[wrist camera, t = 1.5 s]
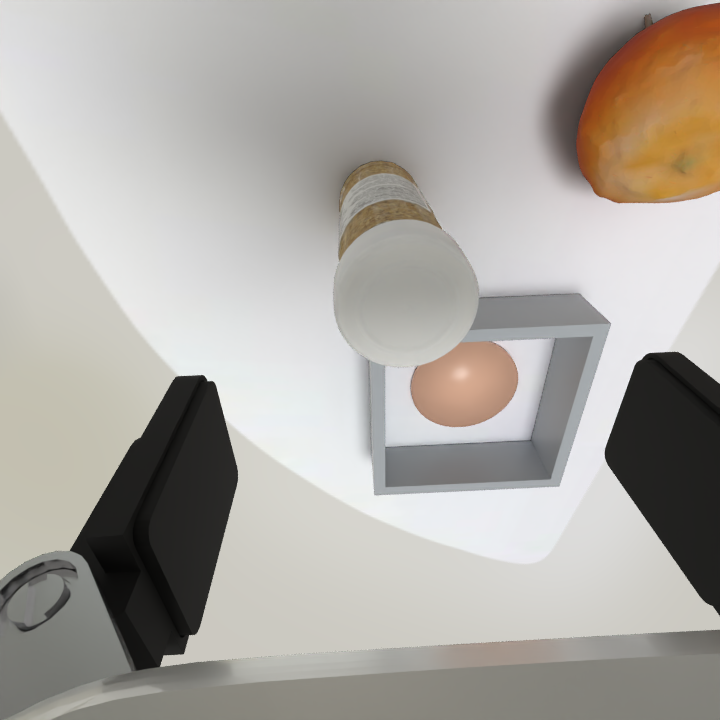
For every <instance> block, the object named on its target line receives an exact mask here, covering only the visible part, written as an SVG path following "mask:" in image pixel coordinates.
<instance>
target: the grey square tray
mask: <svg viewBox="0 0 720 720" xmlns="http://www.w3.org/2000/svg"><path fill="white" fill-rule="evenodd" d="M610 326H611V323H610V322H609V321H608V320H607V319H606V318H605V317H604V316H603V315H602V314H601V313H599V312H598V311H597V310H596V309H595V308H594V307H593V306H592V305H591V304H590V303H589V302H588V301H587V300H586V299H585V298H584V297H582V296H581V295H580V294H559V295H537V296H514V297H492V298H479V304H478V310H477V314H476V316H475V319H474V322H473V324H472V326H471V328H470V330H469V331H468V333H467V335H466V336H465V337H464V338H463V340H462V341H461V342H460V343H459V344H458V345H457V346H456V347H455V348H453V349H452V350H451V351H450V352H448V353H447V354H445V355H444V356H442V357H440V358H438V359H436V360H434V361H432V362H429V363H426V364H423V365H419V366H418V367H417V368H416V370H415V372H414V375H413V378H412V382H411V393H412V398H413V401H414V404H415V406H416V408H417V409H418V411H419V412H420V413H421V414H422V415H423V416H424V417H425V418H427V419H428V420H430V421H432V422H434V423H437V424H440V425H443V426H449V427H465V426H471V425H475V424H478V423H481V422H484V421H486V420H488V419H490V418H492V417H493V416H495V415H496V414H498V413H499V412H500V411H501V410H503V409H504V408H505V407H506V406H507V404H508V403H509V402H510V400H511V399H512V397H513V396H514V393H515V391H516V388H517V384H518V372H517V368H516V365H515V363H514V361H513V360H512V358H511V356H510V355H509V354H508V353H507V352H506V351H505V350H504V349H503V348H502V347H500V346H498V345H497V344H495V343H492V342H490V341H504V340H526V339H548V338H556V341H555V345H554V349H553V353H552V357H551V361H550V365H549V369H548V373H547V377H546V381H545V385H544V389H543V394H542V398H541V402H540V406H539V410H538V414H537V418H536V422H535V426H534V430H533V434H532V438H531V441H514V442H493V443H472V444H451V445H429V446H408V447H387V448H385V365H381V364H378V363H375V362H372V361H370V360H369V384H370V419H371V454H372V469H373V483H374V495H391V494H412V493H433V492H454V491H475V490H495V489H516V488H537V487H558V486H560V482H561V479H562V476H563V473H564V470H565V467H566V464H567V461H568V457H569V454H570V451H571V448H572V445H573V442H574V439H575V435H576V432H577V429H578V426H579V423H580V420H581V417H582V413H583V410H584V407H585V404H586V401H587V398H588V395H589V391H590V388H591V385H592V382H593V379H594V376H595V373H596V370H597V366H598V363H599V360H600V357H601V354H602V351H603V348H604V344H605V341H606V338H607V335H608V332H609V329H610Z"/></svg>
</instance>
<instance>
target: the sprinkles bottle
mask: <svg viewBox="0 0 720 720" xmlns="http://www.w3.org/2000/svg"><path fill="white" fill-rule="evenodd" d="M339 211H340V220H339V247H338V258H339V264H338V266H337V269H336V273H335V278H334V292H333V299H334V313H335V318H336V322H337V325H338V327H339V330H340V332H341V334H342V336H343V337H344V339H345V340H346V341H347V343H348V344H349V345H350V346H351V347H352V348H353V349H354V350H355V351H356V352H357V353H359V354H360V355H361V356H363V357H365V358H366V359H368V360H370V361H372V362H375V363H378V364H381V365H385V366H390V367H413V366H419V365H423V364H426V363H429V362H432V361H434V360H436V359H438V358H440V357H442V356H444V355H445V354H447V353H448V352H450V351H451V350H452V349H453V348H455V347H456V346H457V345H458V344H459V343H460V342H461V341H462V340H463V338H464V337H465V336H466V335H467V333H468V331H469V330H470V328H471V326H472V324H473V322H474V319H475V316H476V314H477V310H478V304H479V289H478V282H477V278H476V276H475V273H474V271H473V268H472V266H471V265H470V263H469V261H468V259H467V258H466V256H465V255H464V253H463V251H462V250H461V248H460V247H459V245H458V244H457V243H456V242H455V240H454V239H453V238H452V237H451V236H450V235H448V234H447V233H446V232H445V231H443V230H442V228H441V226H440V225H439V224H438V222H437V220H436V218H435V216H434V213H433V211H432V209H431V208H430V206H429V205H428V203H427V201H426V200H425V198H424V197H423V195H422V194H421V192H420V191H419V189H418V188H417V185H416V183H415V182H414V180H413V178H412V177H411V176H410V175H409V174H408V172H407V171H405V170H404V169H403V168H401V167H399V166H398V165H396V164H394V163H392V162H384V161H376V162H370V163H367V164H364V165H362V166H360V167H359V168H358V169H356V170H355V171H354V172H353V173H352V174H351V175H350V176H349V177H348V178H347V180H346V181H345V183H344V185H343V187H342V190H341V193H340V200H339Z"/></svg>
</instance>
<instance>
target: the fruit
mask: <svg viewBox="0 0 720 720" xmlns="http://www.w3.org/2000/svg"><path fill="white" fill-rule="evenodd" d="M644 19H645V29H644V30H642V31H640V32H639V33H637V34H636V35H635V36H634V37H633V38H631V39H630V40H629V41H628V42H627V43H626V44H625V45H624V46H623V47H622V48H621V49H620V50H619V51H618V52H617V53H616V54H615V55H614V56H613V57H612V58H611V59H610V60H609V61H608V62H607V63H606V65H605V66H604V68H603V69H602V70H601V72H600V73H599V74H598V76H597V78H596V79H595V81H594V83H593V86H592V88H591V90H590V93H589V95H588V98H587V101H586V103H585V106H584V109H583V112H582V115H581V117H580V121H579V126H578V132H577V141H576V149H577V156H578V162H579V167H580V169H581V172H582V174H583V176H584V177H585V178H586V180H587V181H588V182H589V183H590V185H591V186H592V188H593V191H594V193H595V194H596V195H598V196H599V197H604V198H607V199H609V200H611V201H613V202H616V203H670V202H679V201H685V200H691V199H697V198H700V197H703V196H707V195H709V194H712V193H714V192H717V191H720V3H715V4H709V5H703V6H697V7H693V8H689V9H685V10H682V11H680V12H677V13H674V14H671V15H669V16H667V17H665V18H663V19H661V20H659V21H658V22H656V23H654V24H653V22H652V18H651V14H649V15H645V17H644Z"/></svg>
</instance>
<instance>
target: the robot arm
mask: <svg viewBox="0 0 720 720" xmlns="http://www.w3.org/2000/svg"><path fill="white" fill-rule="evenodd" d="M605 459H606V462H607V464H608V466H609V467H610V469H611V470H612V471H613V473H614V474H615V476H616V477H617V479H618V480H619V481H620V483H621V484H622V486H623V487H624V489H625V490H626V491H627V493H628V494H629V496H630V497H631V499H632V500H633V501H634V503H635V504H636V506H637V507H638V509H639V510H640V511H641V513H642V514H643V516H644V517H645V519H646V520H647V521H648V523H649V524H650V526H651V527H652V528H653V530H654V531H655V533H656V534H657V536H658V537H659V539H660V540H661V541H662V543H663V544H664V546H665V547H666V548H667V550H668V551H669V553H670V554H671V556H672V557H673V559H674V560H675V561H676V563H677V564H678V565H679V567H680V569H681V570H682V571H683V573H684V574H685V576H686V577H687V579H688V580H689V581H690V583H691V584H692V586H693V587H694V589H695V590H696V591H697V593H698V594H699V596H700V597H701V598H702V599H703V600H704V601H705V602H706V603H707V604H709V605H712V606H713V607H714V608H715V610H716V611H717V613H718V614H719V615H720V384H719V383H718V382H717V381H715V380H714V379H713V378H712V377H710V376H709V375H708V374H707V373H705V372H704V371H703V370H701V369H700V368H699V367H698V366H696V365H695V364H694V363H693V362H691V361H690V360H689V359H688V358H686V357H685V356H684V355H682V354H681V353H679V352H662V353H649V354H646V355H645V356H644V357H643V359H642V360H640V361H638V362H637V363H636V365H635V367H634V370H633V372H632V375H631V378H630V381H629V384H628V386H627V389H626V392H625V395H624V397H623V400H622V403H621V406H620V409H619V411H618V414H617V417H616V420H615V423H614V425H613V428H612V431H611V434H610V437H609V439H608V442H607V445H606V448H605ZM237 482H238V470H237V465H236V461H235V457H234V454H233V450H232V446H231V442H230V438H229V434H228V430H227V427H226V423H225V419H224V415H223V411H222V407H221V403H220V399H219V396H218V392H217V388H216V385H215V383H214V382H213V381H207V379H206V378H205V376H203V375H196V376H178V377H175V379H174V380H173V382H172V383H171V385H170V387H169V389H168V391H167V392H166V394H165V396H164V398H163V399H162V401H161V403H160V405H159V406H158V408H157V410H156V412H155V414H154V415H153V417H152V419H151V420H150V422H149V424H148V426H147V428H146V429H145V431H144V433H143V435H142V436H141V438H139V439H137V440H135V441H134V443H133V444H132V445H131V446H130V448H129V450H128V452H127V453H126V455H125V457H124V458H123V460H122V462H121V464H120V465H119V467H118V469H117V470H116V472H115V474H114V476H113V477H112V479H111V481H110V482H109V484H108V486H107V488H106V490H105V491H104V493H103V494H102V496H101V498H100V500H99V501H98V503H97V505H96V506H95V508H94V510H93V512H92V513H91V515H90V517H89V518H88V520H87V522H86V524H85V526H84V527H83V529H82V531H81V532H80V534H79V536H78V537H77V539H76V541H75V543H74V544H73V546H72V548H71V549H70V551H55V552H51V553H47V554H42V555H40V556H38V557H35V558H33V559H31V560H29V561H26V562H24V563H23V564H21V565H20V566H18V567H17V568H16V569H14V570H12V571H11V572H9V573H8V574H7V575H6V576H5V577H4V578H3V579H1V580H0V720H720V630H707V631H688V632H669V633H648V634H631V635H612V636H594V637H576V638H558V639H541V640H524V641H508V642H507V641H506V642H489V643H471V644H456V645H455V644H454V645H438V646H422V647H405V648H390V649H375V650H374V649H373V650H358V651H341V652H326V653H309V654H294V655H282V656H269V657H257V658H245V659H232V660H219V661H207V662H196V663H188V664H181V665H173V666H165V667H160V665H161V661H162V658H163V655H178V654H184V652H185V648H186V644H187V641H188V637H189V635H195V634H196V633H197V632H198V630H199V627H200V624H201V621H202V617H203V613H204V609H205V605H206V601H207V598H208V593H209V590H210V586H211V582H212V579H213V575H214V571H215V567H216V563H217V559H218V555H219V551H220V548H221V544H222V540H223V536H224V532H225V529H226V525H227V521H228V517H229V513H230V509H231V506H232V502H233V498H234V494H235V490H236V487H237Z"/></svg>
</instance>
